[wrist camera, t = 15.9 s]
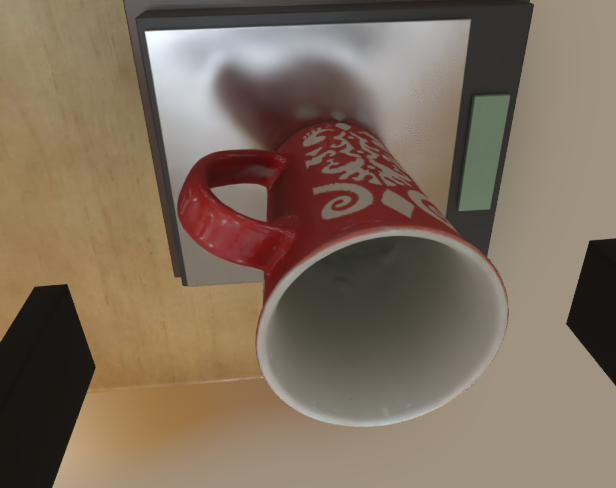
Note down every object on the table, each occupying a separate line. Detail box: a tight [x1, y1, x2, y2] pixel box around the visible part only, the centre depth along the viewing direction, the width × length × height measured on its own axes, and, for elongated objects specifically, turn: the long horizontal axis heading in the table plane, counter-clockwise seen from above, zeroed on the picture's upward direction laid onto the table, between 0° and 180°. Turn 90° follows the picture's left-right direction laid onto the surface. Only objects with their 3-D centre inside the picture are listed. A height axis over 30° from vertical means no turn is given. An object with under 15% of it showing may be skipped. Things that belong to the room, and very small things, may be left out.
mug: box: [177, 123, 509, 427], centre depth 23 cm, size 13×9×14 cm
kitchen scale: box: [135, 0, 534, 287], centre depth 31 cm, size 20×16×3 cm
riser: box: [123, 0, 530, 277], centre depth 40 cm, size 22×18×18 cm
